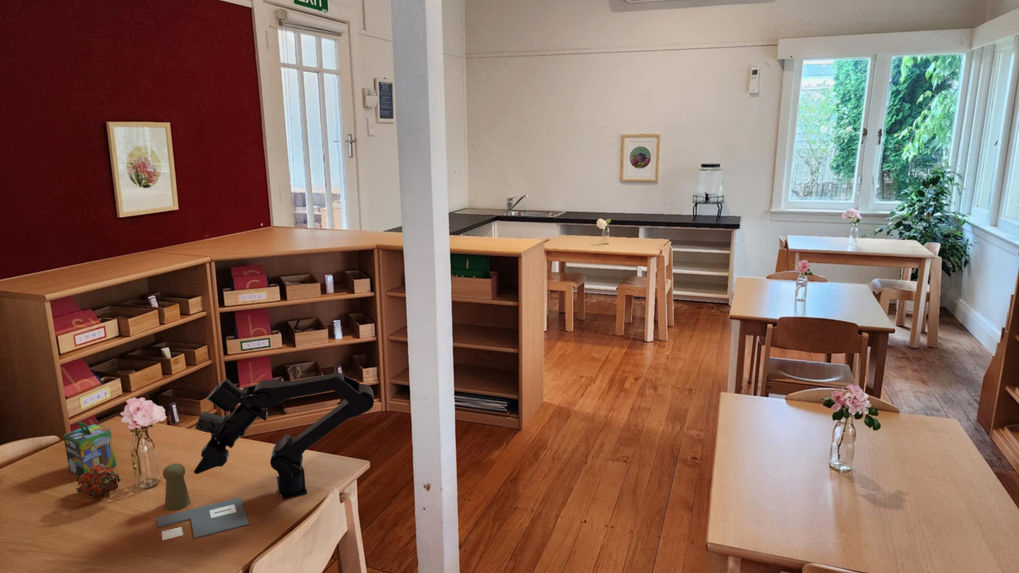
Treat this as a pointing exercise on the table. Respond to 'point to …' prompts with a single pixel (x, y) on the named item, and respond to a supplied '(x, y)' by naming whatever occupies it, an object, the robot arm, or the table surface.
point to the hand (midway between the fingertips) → (198, 464)
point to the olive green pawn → (175, 487)
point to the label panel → (207, 519)
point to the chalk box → (89, 448)
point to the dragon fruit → (98, 481)
